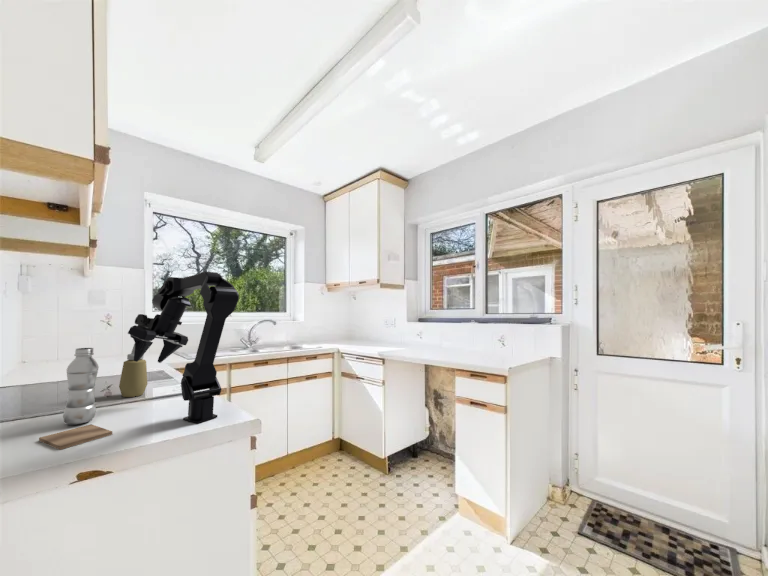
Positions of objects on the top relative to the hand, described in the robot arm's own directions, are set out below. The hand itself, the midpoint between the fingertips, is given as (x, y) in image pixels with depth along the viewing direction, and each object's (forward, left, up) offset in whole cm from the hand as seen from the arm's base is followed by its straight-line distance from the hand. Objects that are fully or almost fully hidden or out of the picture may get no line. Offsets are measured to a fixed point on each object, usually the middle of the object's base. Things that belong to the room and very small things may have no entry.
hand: (147, 361), depth 104 cm
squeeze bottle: (+18, -6, -15) cm, 24 cm away
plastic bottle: (+1, +16, -15) cm, 21 cm away
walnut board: (-10, +21, -14) cm, 27 cm away
